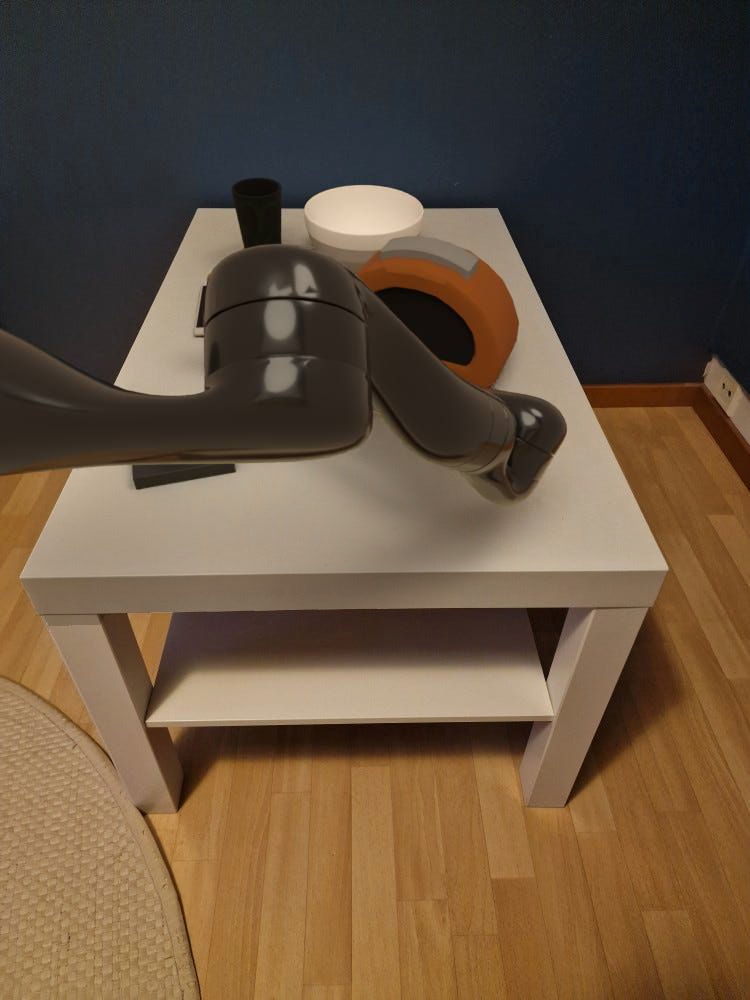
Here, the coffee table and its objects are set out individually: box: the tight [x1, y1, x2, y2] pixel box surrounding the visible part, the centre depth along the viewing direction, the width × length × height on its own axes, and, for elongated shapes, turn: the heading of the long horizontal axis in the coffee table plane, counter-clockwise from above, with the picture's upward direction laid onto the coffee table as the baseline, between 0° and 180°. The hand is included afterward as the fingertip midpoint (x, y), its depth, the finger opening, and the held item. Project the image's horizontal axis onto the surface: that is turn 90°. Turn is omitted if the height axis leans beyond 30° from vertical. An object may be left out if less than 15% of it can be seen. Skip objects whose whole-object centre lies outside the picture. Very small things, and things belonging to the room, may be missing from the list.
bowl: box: [303, 184, 425, 274], centre depth 111 cm, size 19×19×9 cm
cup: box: [230, 177, 283, 249], centre depth 109 cm, size 8×8×12 cm
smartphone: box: [193, 281, 207, 337], centre depth 103 cm, size 8×1×15 cm
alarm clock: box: [355, 235, 520, 387], centre depth 88 cm, size 23×9×17 cm, turn 66°
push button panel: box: [131, 464, 236, 490], centre depth 79 cm, size 11×9×4 cm
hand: (285, 317), depth 80 cm, fingers open, 8 cm apart
